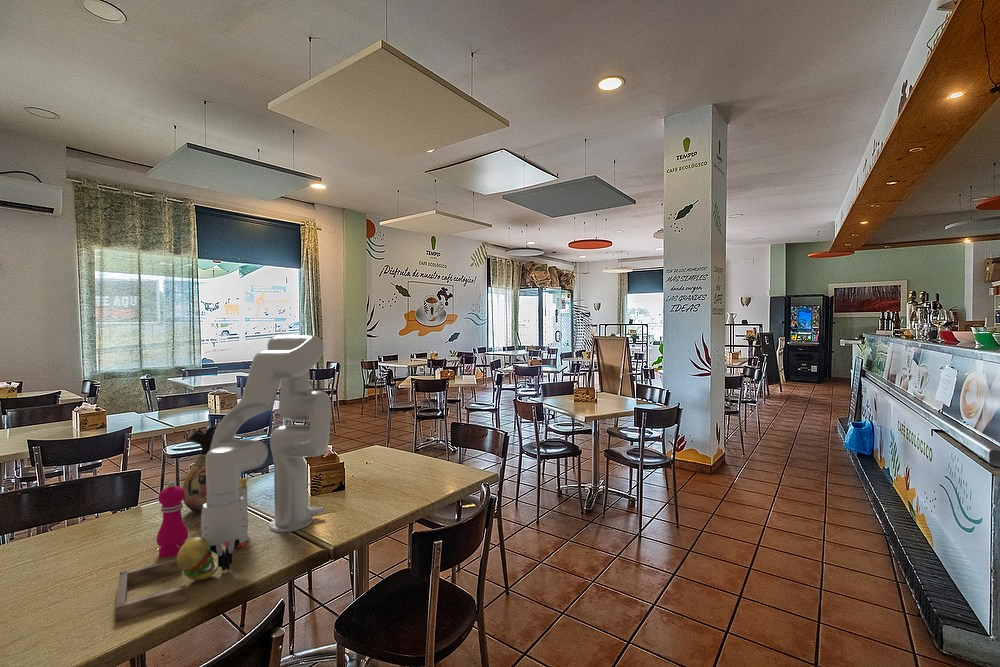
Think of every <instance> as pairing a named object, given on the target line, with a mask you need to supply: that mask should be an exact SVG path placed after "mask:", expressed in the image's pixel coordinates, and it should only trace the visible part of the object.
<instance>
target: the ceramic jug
mask: <svg viewBox="0 0 1000 667" xmlns="http://www.w3.org/2000/svg"><path fill="white" fill-rule="evenodd" d="M218 424H219V423H216V424H212V425H210V426H209V427H208V428H207V429H206V431H205V432H204V431H203V430H202V429H201V428H199V429H197V430H196V431H194V433H192V435H190V436H189V437H188V438H187V439H186V442H189V443H193V444H198V445H199V446H201V451H200V454H199V455H198V457H197V458H196V460H195V461H194V463H193V464H192V465H191V467H190V470H189V471H188V472H187V474H186V476H185V478H184V481H183V485H182V489H183V490H184V492H185V497H184V499H183V500H182V502H183V504H185V506H186V507H187V508H188V509H189V510H191V512H193V513H194V515H196V516H201V513H202V507H203V504H205V503H207V501H206V454H207V453H208V452H209V451H210V446H211V443H212V439H213V436H214V434H212V432H215V430H216V428H217V426H218Z"/></svg>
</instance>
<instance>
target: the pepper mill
mask: <svg viewBox="0 0 1000 667" xmlns="http://www.w3.org/2000/svg"><path fill="white" fill-rule="evenodd" d="M184 497H185V492H184V490H183V487H181V486H178V485H176V482H175V481H173V480H171V481H169V482H168V483H167V487H165V488H163V489H162V490H161V491H160V493H159V494H158V502H159V504H161V507H160V509H161V510H160V512H161V513H162V522H161V525H160V528H159V530H158V532H157V535H156V544H157V545H158V546H159V549H158V555H159V556H158V557H160V558H166V559H167V558H172V557H177V554H178V552H179V550H180V548H181V547H182V546H183V545H184V544H185V543H186V540H187V539H188V537H189V532H188V528H187V526H186V524H185V522H184V520H183V517H182V509H183V507H184V506H183V505H184V502H183V499H184ZM178 546H179V547H180V548H179V547H178Z"/></svg>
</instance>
